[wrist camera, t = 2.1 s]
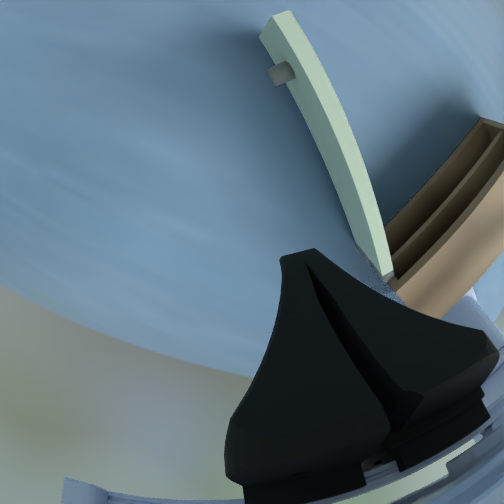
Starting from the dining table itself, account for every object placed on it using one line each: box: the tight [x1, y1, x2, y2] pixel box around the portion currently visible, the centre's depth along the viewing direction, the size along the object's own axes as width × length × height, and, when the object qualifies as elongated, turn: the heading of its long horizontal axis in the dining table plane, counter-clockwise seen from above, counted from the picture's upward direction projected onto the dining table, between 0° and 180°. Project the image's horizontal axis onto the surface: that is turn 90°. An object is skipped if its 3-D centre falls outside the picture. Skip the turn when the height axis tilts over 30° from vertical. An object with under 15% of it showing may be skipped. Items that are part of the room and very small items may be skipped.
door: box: [259, 10, 394, 283], centre depth 13 cm, size 2×16×4 cm, turn 28°
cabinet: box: [384, 117, 504, 319], centre depth 16 cm, size 7×16×5 cm, turn 138°
